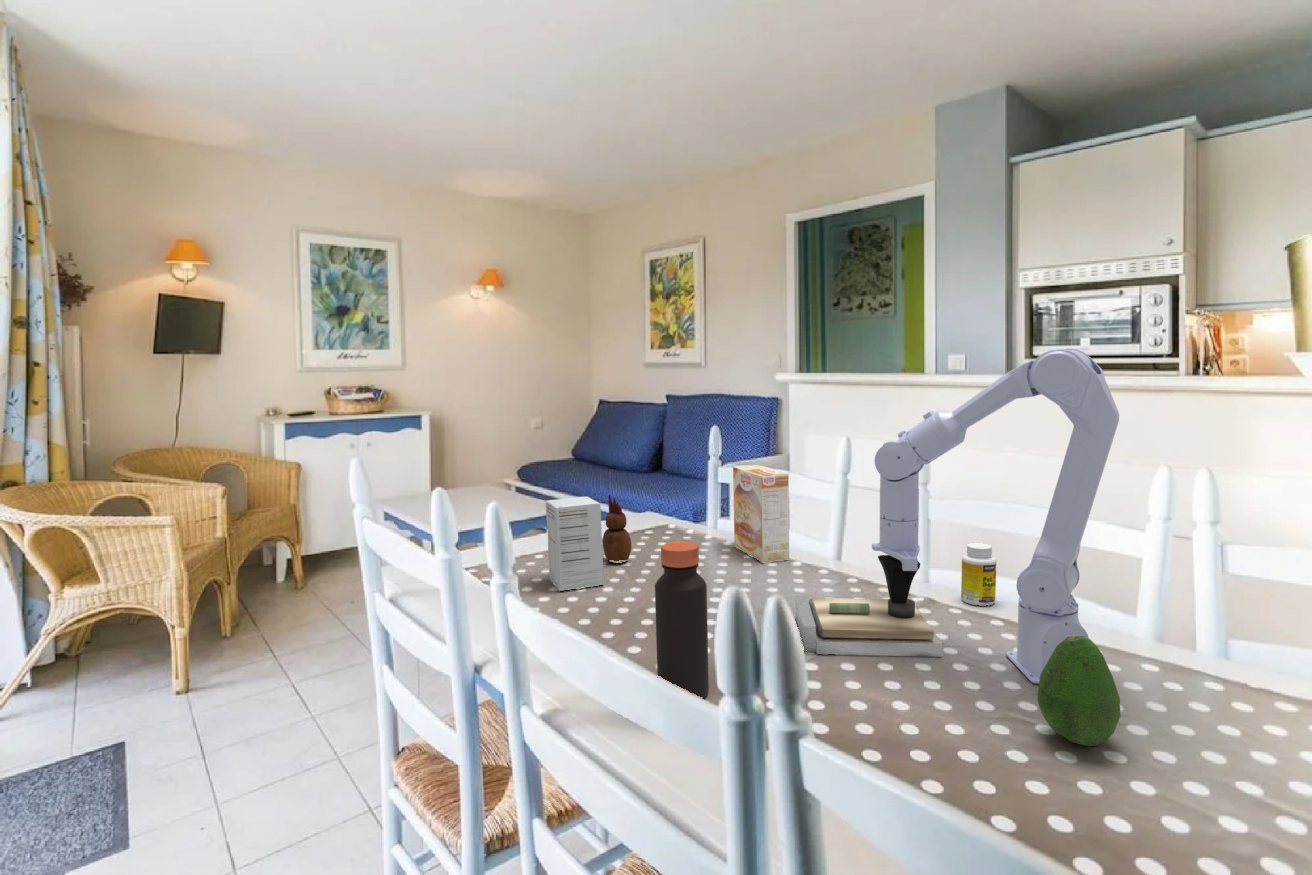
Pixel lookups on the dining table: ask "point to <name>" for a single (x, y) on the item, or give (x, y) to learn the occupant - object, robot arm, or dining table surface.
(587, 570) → the supplement box
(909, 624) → the plate
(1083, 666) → the avocado
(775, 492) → the coffeecake box
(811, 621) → the level base
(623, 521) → the wooden figurine
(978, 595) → the supplement bottle
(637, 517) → the dining table surface
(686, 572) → the vinegar
